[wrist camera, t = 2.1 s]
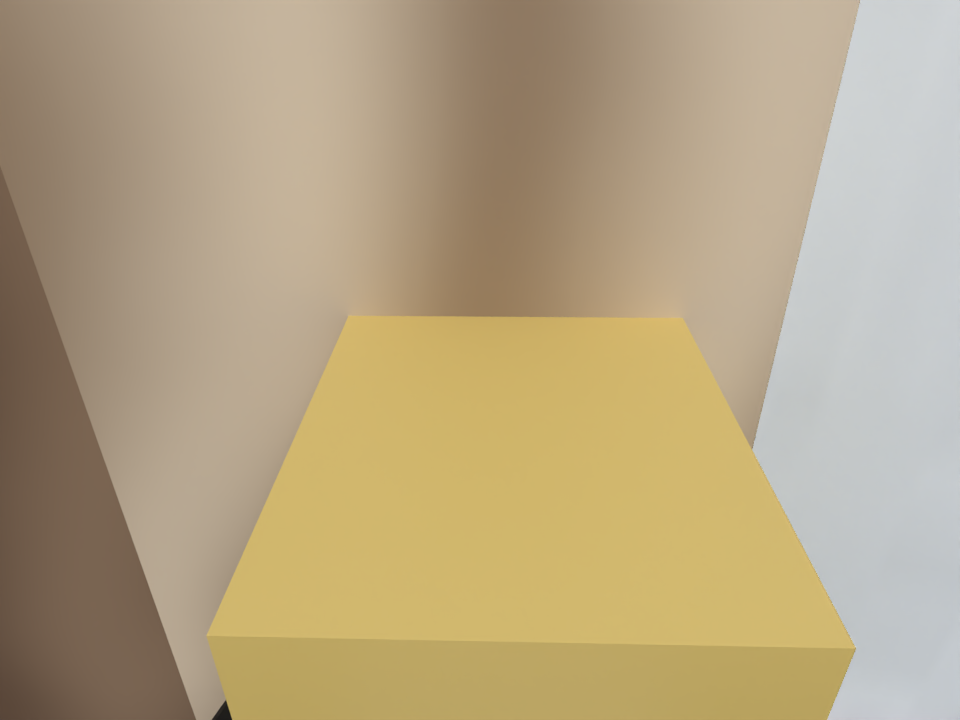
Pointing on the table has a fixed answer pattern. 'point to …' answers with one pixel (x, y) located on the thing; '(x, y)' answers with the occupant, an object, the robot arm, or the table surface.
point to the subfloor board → (338, 257)
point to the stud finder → (524, 539)
